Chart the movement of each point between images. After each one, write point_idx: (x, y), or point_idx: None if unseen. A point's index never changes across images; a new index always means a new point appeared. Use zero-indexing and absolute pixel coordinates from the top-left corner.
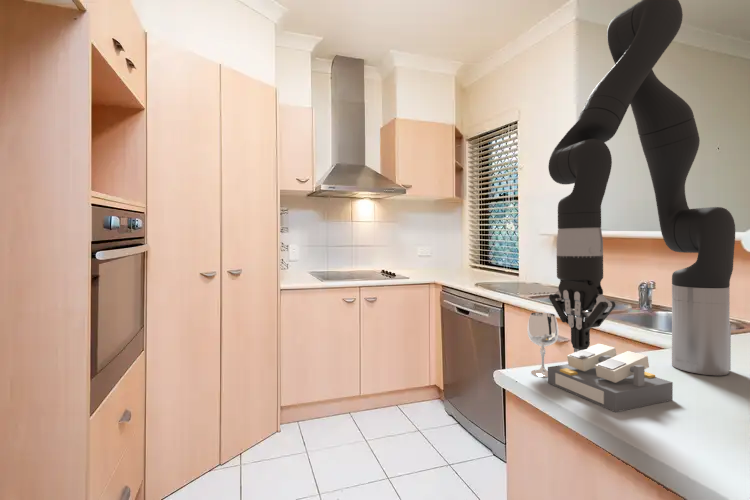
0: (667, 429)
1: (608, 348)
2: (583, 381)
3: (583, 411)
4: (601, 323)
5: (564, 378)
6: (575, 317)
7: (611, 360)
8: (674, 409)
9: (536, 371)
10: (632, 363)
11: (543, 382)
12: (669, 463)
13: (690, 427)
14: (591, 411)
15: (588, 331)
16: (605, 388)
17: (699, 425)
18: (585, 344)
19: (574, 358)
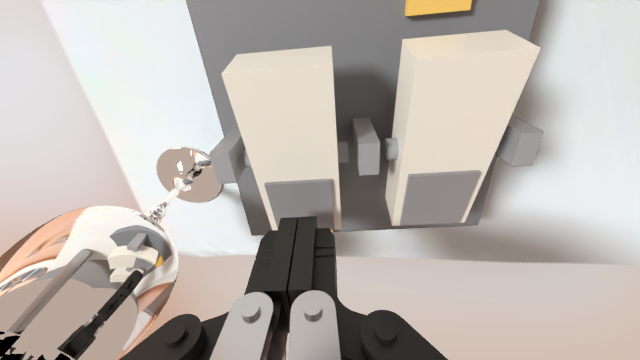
0: (566, 170)
1: (316, 96)
2: (377, 227)
3: (420, 243)
4: (422, 337)
5: None
6: (193, 346)
7: (420, 186)
8: (539, 42)
9: (185, 193)
10: (494, 148)
11: None
12: (604, 260)
13: (603, 115)
14: (428, 232)
15: (335, 294)
16: (445, 223)
17: (620, 82)
18: (335, 255)
19: None
